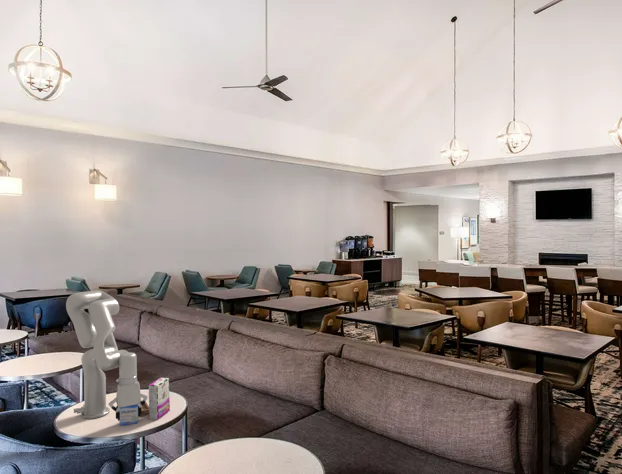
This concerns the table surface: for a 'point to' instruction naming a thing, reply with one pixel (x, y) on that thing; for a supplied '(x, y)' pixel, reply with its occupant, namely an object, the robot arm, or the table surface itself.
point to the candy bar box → (159, 398)
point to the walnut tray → (144, 410)
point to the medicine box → (128, 415)
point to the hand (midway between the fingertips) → (128, 417)
